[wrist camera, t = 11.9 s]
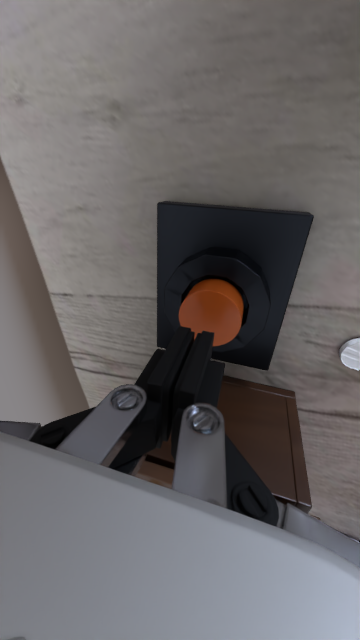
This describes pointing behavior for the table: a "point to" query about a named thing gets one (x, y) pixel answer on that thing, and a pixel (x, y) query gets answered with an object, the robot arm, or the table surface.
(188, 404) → the robot arm
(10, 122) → the table surface
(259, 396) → the tea box
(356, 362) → the spoon
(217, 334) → the button
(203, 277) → the switch block
